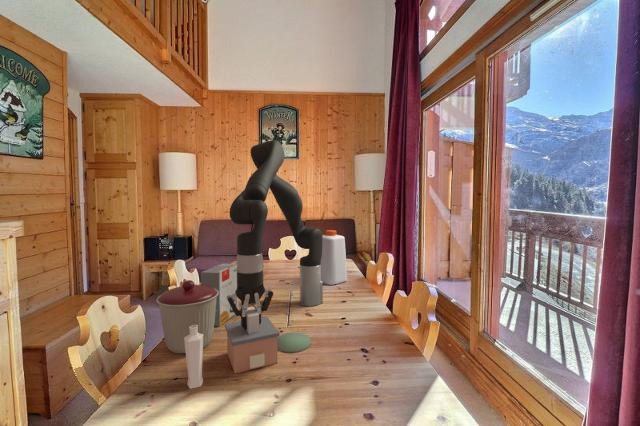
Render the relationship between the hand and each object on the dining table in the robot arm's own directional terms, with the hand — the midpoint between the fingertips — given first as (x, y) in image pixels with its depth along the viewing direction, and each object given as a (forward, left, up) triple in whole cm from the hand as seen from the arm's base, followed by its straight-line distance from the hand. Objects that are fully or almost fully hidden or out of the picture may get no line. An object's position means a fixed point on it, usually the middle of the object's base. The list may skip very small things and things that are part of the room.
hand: (251, 326), depth 90 cm
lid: (0, 0, -1) cm, 1 cm away
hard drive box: (+4, -34, -10) cm, 36 cm away
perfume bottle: (+16, +6, -10) cm, 20 cm away
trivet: (-14, -3, -9) cm, 17 cm away
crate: (0, 0, -9) cm, 9 cm away
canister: (+16, -16, -10) cm, 25 cm away
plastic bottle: (-58, -60, -10) cm, 84 cm away
